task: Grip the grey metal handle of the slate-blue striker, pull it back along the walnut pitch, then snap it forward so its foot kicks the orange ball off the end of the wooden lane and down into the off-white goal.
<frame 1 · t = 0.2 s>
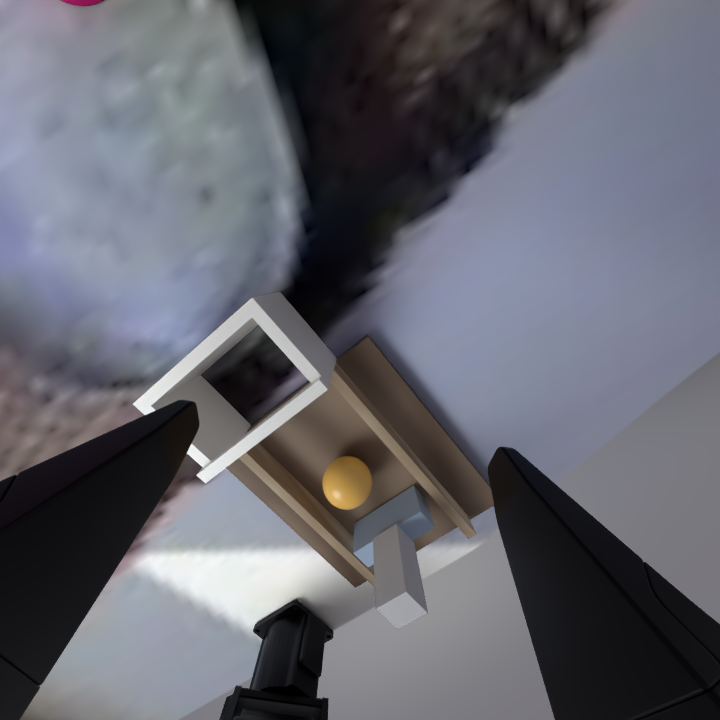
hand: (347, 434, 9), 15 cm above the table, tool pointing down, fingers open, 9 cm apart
ball: (347, 481, 24), point 3 cm above the table, touching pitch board
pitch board: (360, 472, 27), on the table
striker: (394, 552, 23), point 5 cm above the table, slide at 0.0 cm
goal: (264, 369, 24), on the table
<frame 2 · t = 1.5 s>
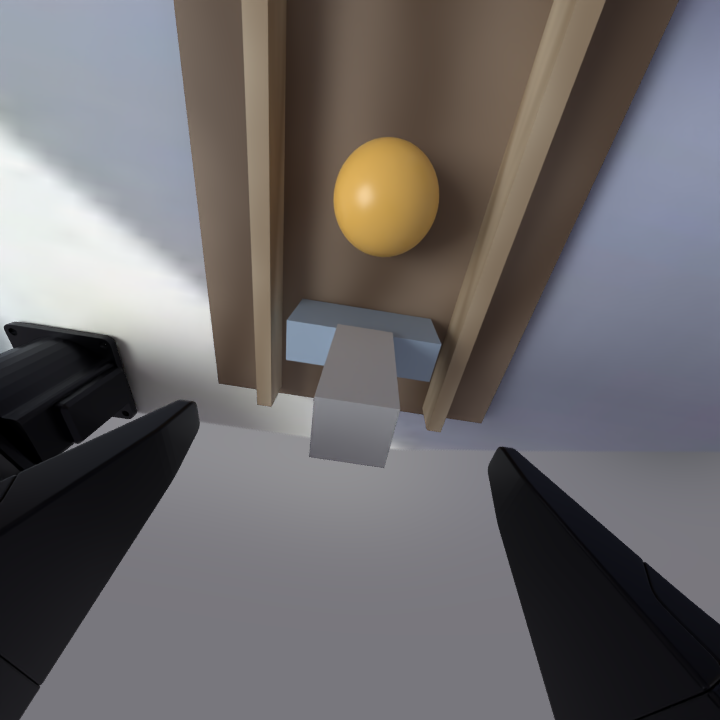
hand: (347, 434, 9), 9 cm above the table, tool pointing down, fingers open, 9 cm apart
ball: (385, 202, 11), point 3 cm above the table, touching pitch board
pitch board: (377, 239, 15), on the table
striker: (359, 364, 12), point 5 cm above the table, slide at 0.0 cm
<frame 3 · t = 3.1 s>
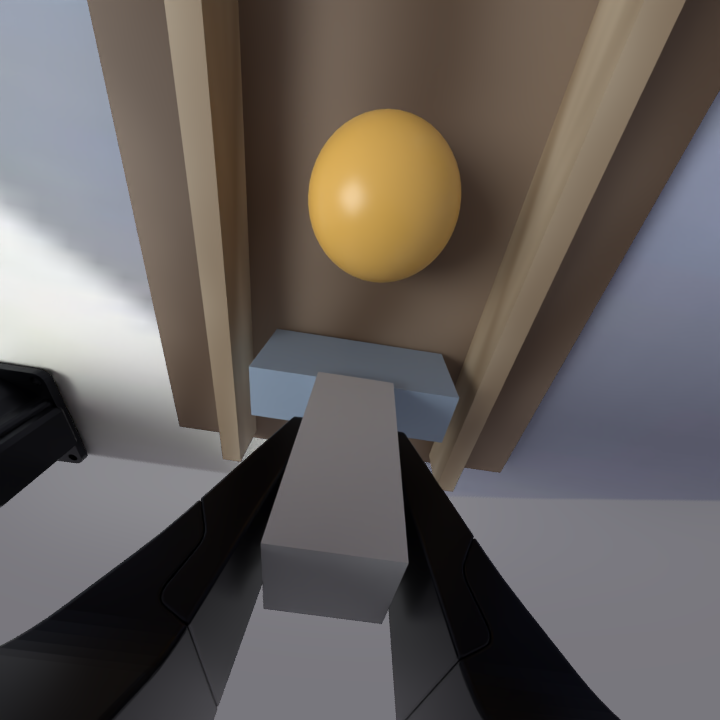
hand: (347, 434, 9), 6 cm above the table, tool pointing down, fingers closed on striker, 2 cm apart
ball: (383, 206, 8), point 3 cm above the table, touching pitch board
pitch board: (373, 253, 11), on the table
striker: (348, 429, 9), point 5 cm above the table, slide at 0.0 cm, touching gripper
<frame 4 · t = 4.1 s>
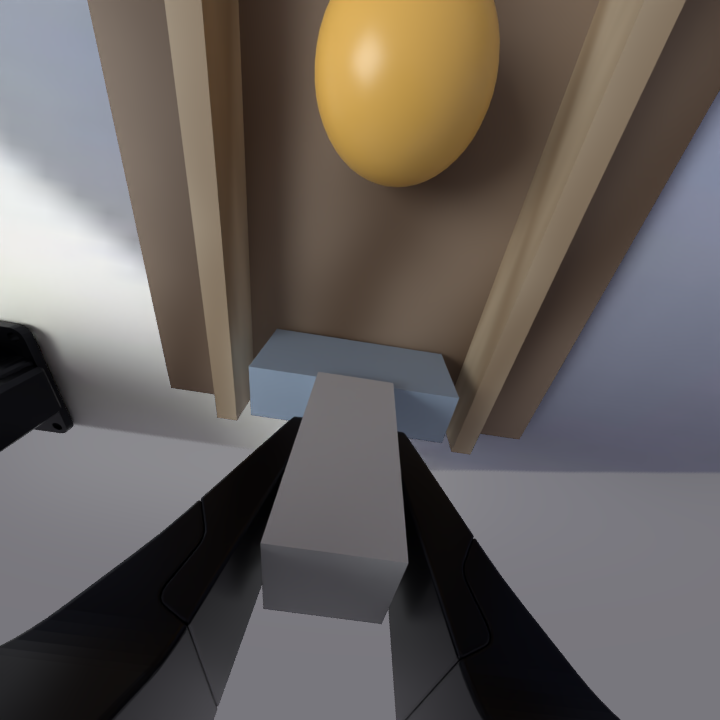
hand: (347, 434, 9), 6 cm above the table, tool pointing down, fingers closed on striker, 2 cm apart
ball: (402, 85, 7), point 3 cm above the table, touching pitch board
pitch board: (385, 180, 10), on the table
striker: (348, 429, 9), point 5 cm above the table, slide at -2.5 cm, touching gripper
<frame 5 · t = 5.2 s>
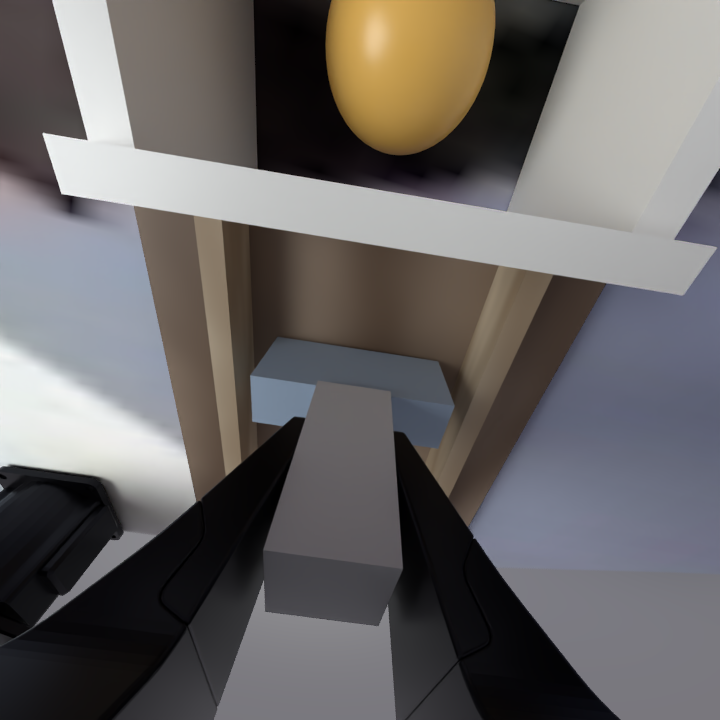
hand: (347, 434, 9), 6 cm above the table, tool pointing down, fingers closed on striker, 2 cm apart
ball: (406, 56, 7), point 2 cm above the table, tilted 23°
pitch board: (346, 418, 16), on the table
striker: (346, 437, 9), point 5 cm above the table, slide at 8.1 cm, touching gripper
goal: (395, 116, 9), on the table
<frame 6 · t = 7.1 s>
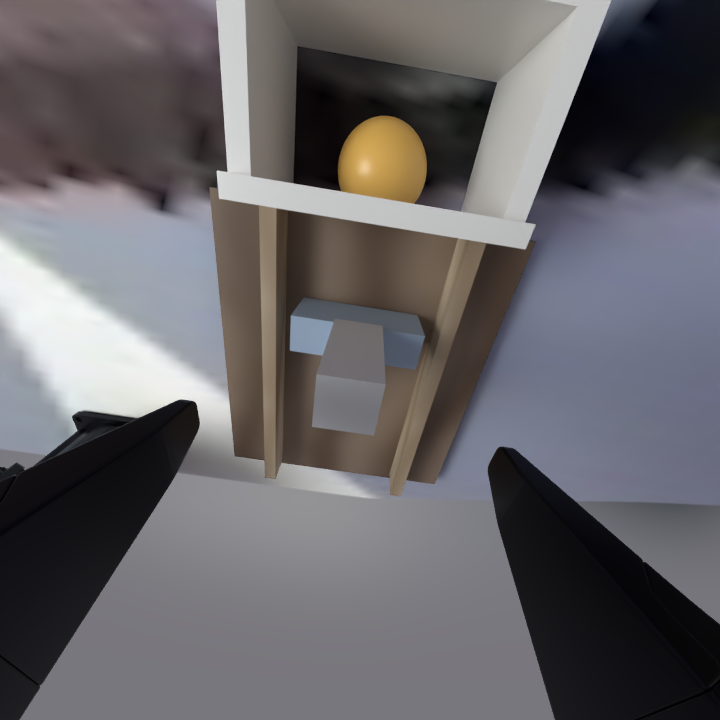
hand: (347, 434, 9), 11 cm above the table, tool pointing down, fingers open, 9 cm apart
ball: (381, 173, 13), point 2 cm above the table, tilted 81°
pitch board: (351, 366, 21), on the table
striker: (354, 353, 14), point 5 cm above the table, slide at 8.1 cm
goal: (385, 146, 14), on the table
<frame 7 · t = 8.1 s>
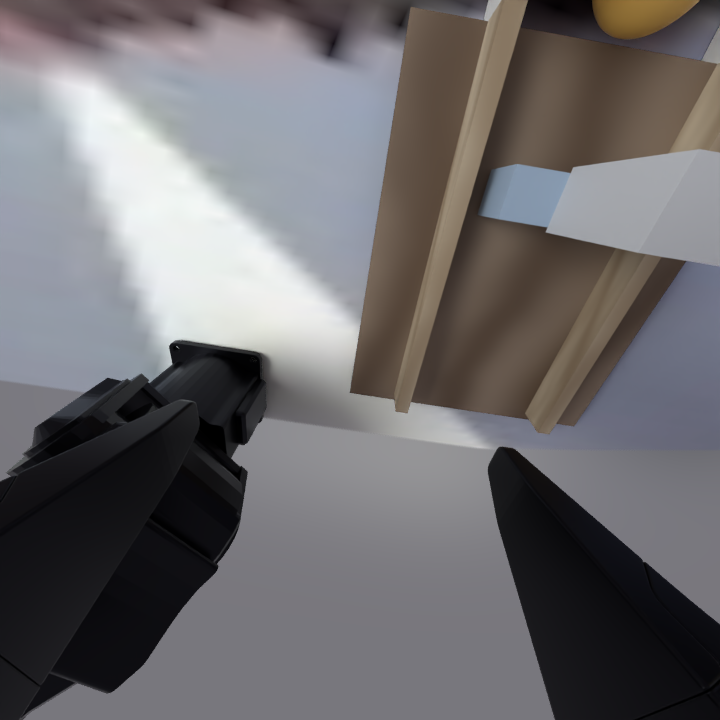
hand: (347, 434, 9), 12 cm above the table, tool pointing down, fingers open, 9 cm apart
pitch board: (509, 275, 18), on the table
striker: (604, 207, 11), point 5 cm above the table, slide at 8.1 cm
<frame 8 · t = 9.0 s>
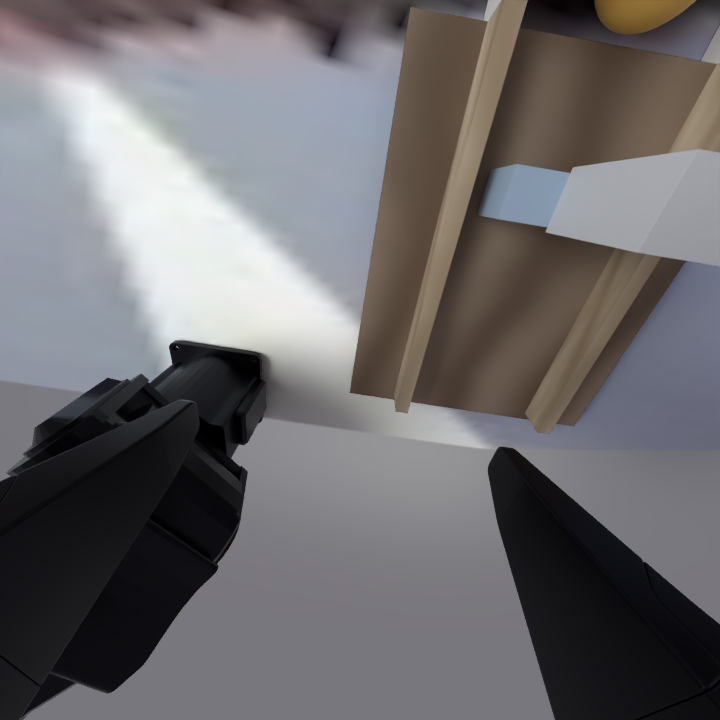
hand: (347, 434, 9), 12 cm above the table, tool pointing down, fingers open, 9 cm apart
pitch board: (509, 275, 18), on the table
striker: (604, 207, 11), point 5 cm above the table, slide at 8.1 cm
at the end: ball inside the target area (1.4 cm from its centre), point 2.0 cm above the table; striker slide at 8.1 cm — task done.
